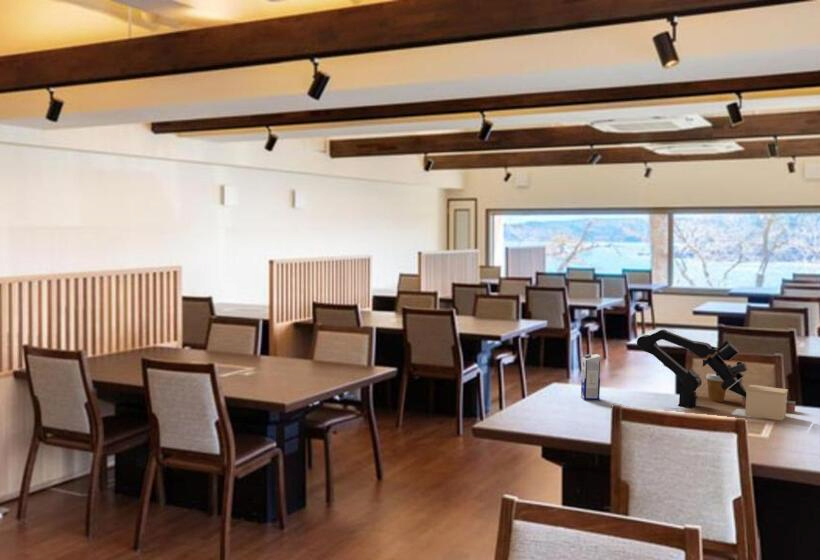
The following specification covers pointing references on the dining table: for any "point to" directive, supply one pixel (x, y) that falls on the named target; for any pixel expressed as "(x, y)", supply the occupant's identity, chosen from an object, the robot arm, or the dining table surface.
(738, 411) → the board
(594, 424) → the dining table surface
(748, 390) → the kraft carton
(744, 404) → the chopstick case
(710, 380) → the disposable coffee cup
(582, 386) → the milk carton
